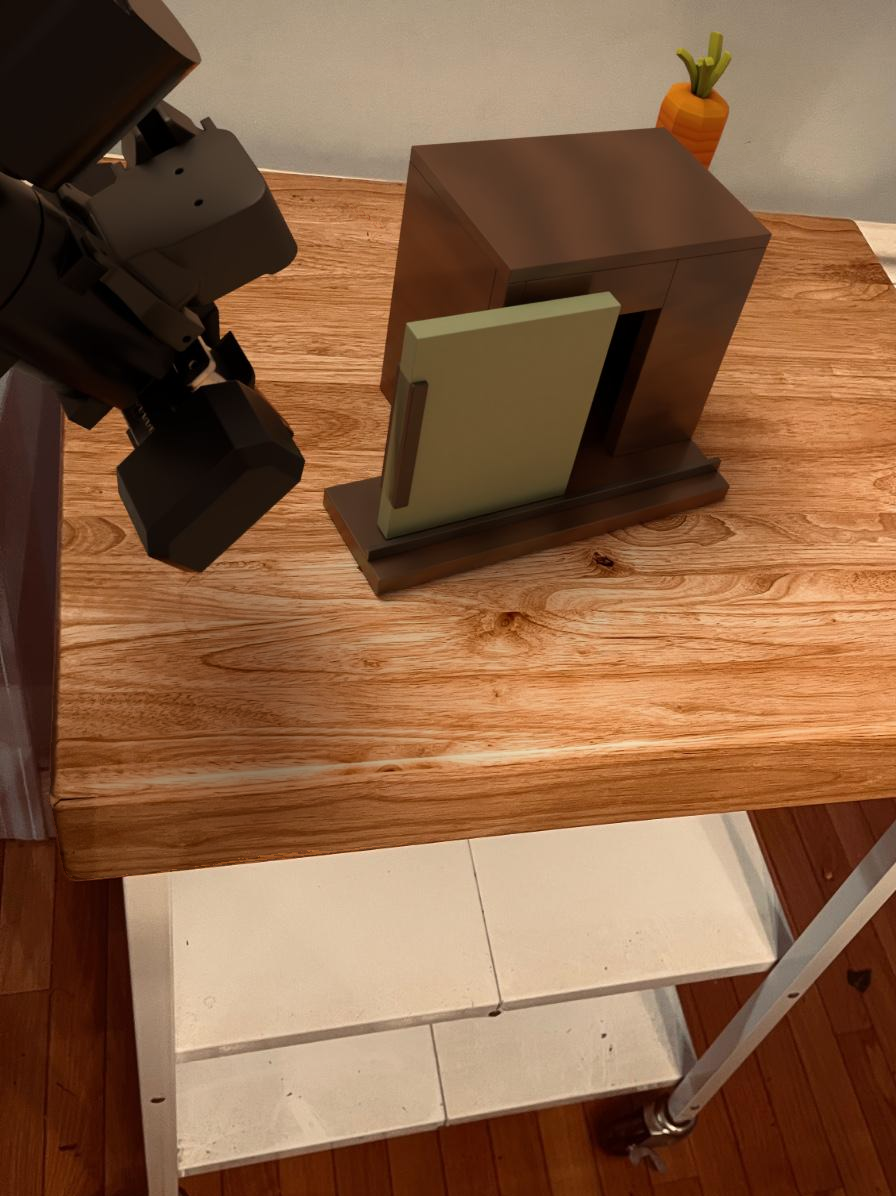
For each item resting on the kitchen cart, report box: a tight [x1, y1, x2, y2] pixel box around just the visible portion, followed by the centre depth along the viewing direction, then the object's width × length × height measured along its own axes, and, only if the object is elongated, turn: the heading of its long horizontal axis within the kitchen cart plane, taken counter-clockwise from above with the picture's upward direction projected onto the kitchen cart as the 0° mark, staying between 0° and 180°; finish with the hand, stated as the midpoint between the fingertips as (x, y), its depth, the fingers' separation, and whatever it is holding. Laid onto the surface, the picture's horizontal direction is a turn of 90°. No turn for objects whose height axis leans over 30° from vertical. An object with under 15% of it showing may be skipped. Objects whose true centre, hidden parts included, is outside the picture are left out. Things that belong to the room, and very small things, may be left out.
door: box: [377, 292, 621, 539], centre depth 60 cm, size 11×2×13 cm, turn 123°
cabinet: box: [322, 127, 773, 597], centre depth 64 cm, size 23×15×16 cm, turn 123°
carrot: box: [654, 30, 733, 171], centre depth 85 cm, size 5×5×15 cm
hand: (284, 437), depth 53 cm, fingers closed
